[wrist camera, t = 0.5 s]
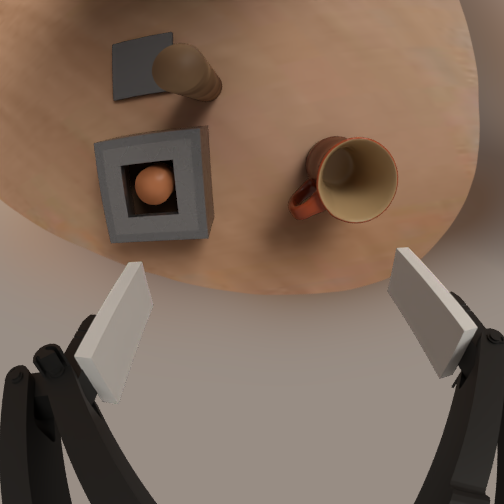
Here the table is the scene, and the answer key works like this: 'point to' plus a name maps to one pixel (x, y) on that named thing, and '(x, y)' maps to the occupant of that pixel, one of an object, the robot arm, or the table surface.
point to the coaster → (137, 65)
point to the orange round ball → (155, 183)
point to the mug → (346, 180)
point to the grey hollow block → (186, 181)
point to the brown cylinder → (186, 73)
